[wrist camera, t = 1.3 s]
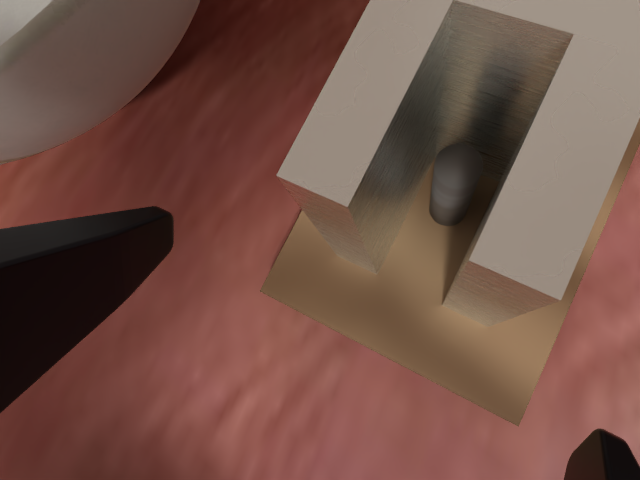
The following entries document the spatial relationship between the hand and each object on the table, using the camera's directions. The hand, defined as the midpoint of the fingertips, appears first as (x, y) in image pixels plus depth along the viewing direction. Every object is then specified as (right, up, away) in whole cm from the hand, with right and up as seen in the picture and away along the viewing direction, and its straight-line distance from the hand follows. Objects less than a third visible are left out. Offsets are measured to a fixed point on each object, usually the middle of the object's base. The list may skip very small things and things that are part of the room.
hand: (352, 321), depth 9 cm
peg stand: (+5, +3, +13) cm, 14 cm away
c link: (+5, +3, +12) cm, 13 cm away
